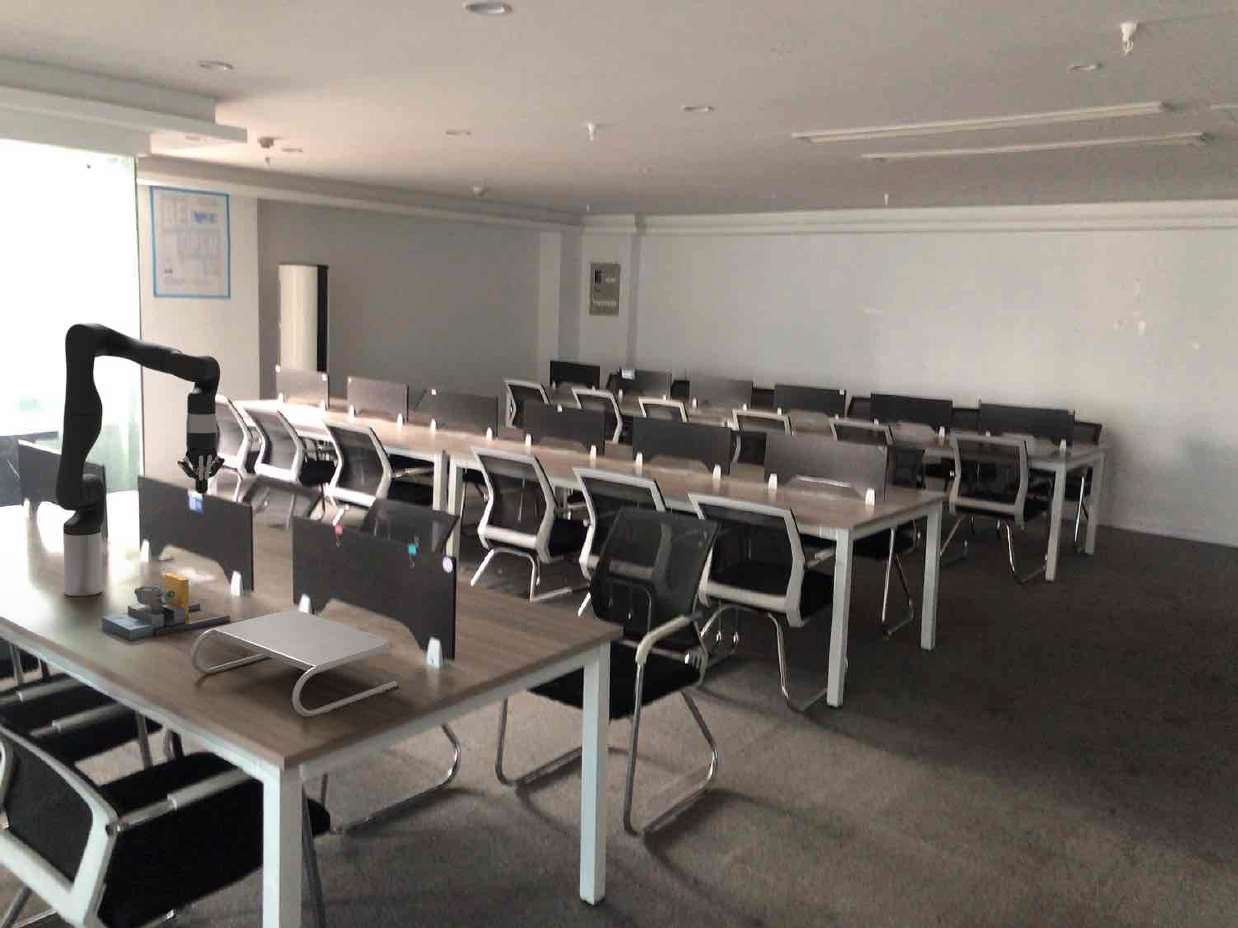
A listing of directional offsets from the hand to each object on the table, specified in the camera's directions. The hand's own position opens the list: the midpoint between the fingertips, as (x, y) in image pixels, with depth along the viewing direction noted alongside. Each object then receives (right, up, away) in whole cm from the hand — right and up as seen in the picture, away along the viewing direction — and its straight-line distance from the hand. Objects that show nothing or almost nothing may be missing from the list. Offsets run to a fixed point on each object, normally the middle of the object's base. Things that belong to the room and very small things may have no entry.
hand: (201, 493), depth 270 cm
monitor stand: (+41, -41, -49) cm, 76 cm away
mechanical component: (-4, -34, -16) cm, 38 cm away
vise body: (-3, -33, -15) cm, 37 cm away
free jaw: (-2, -33, -14) cm, 36 cm away
